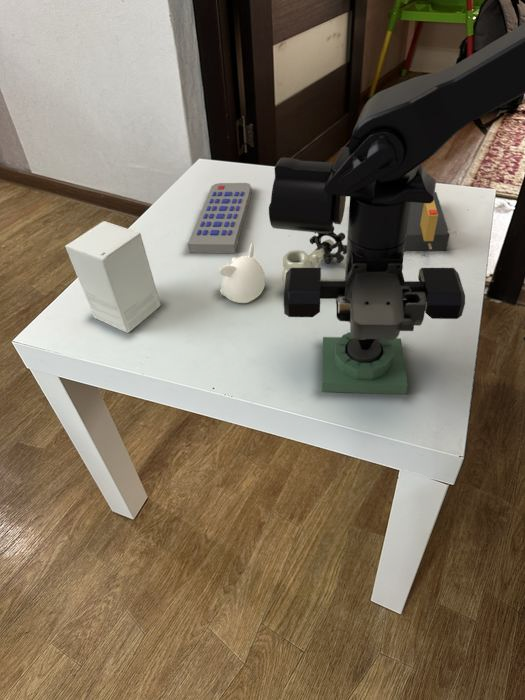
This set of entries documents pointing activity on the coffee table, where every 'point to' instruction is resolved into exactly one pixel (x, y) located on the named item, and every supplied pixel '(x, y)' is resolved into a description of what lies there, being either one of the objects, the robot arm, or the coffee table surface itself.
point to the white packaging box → (115, 275)
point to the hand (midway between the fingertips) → (364, 347)
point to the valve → (316, 253)
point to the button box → (363, 368)
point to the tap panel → (415, 233)
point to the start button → (363, 352)
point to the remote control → (221, 219)
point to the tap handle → (429, 221)
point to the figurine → (242, 278)
